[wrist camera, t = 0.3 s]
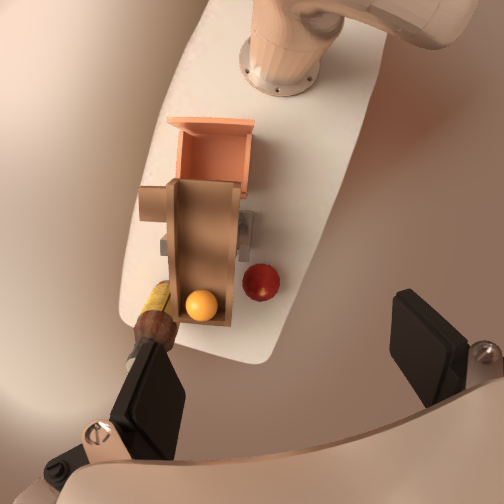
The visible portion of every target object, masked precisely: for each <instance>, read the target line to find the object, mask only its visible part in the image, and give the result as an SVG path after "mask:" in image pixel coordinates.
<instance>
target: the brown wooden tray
mask: <svg viewBox="0 0 504 504" xmlns="http://www.w3.org/2000/svg"><path fill="white" fill-rule="evenodd" d="M240 192H241V182H237V181H222V180H204V179H181V178H174V179H172V180H171V181H170V182H169V183H168V184H166V187H165V186H141V187H139V188H138V193H139V216H140V221H149V222H167V245H168V264H169V280H170V293H171V304H172V315H173V322H182V323H192V324H203V325H214V326H228V327H231V318H232V302H233V287H234V272H235V258H236V255H237V245H236V244H237V230H238V217H239V204H240ZM196 290H207V291H209V292H211V293H212V294H213V295H214V296H215V298H216V300H217V303H218V308H217V312H216V314H215V315H214V317H213V318H211V319H210V320H208V321H197V320H194V319H193V318H191V317H190V316H189V314H188V313H187V310H186V301H187V298H188V296H189V295H190V294H191V293H192V292H194V291H196Z"/></svg>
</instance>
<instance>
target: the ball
mask: <svg viewBox="0 0 504 504" xmlns="http://www.w3.org/2000/svg"><path fill="white" fill-rule="evenodd" d="M217 308H218V303H217V300H216V298H215V296H214V295H213V294H212V293H211V292H209V291H207V290H196V291H194V292H192V293H191V294H190V295H189V296H188V298H187V301H186V310H187V313H188V314H189V316H190V317H191V318H193V319H194V320H197V321H208V320H210V319H211V318H213V317H214V315H215V314H216V312H217Z"/></svg>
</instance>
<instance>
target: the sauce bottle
mask: <svg viewBox="0 0 504 504" xmlns="http://www.w3.org/2000/svg"><path fill="white" fill-rule="evenodd" d="M179 325H180V322H173V315H172V304H171V293H170V281H162V282H160V283H159V284H158V285H157V286H156V287H155V288H154V289H153V291H152V292H151V294H150V296H149V298H148V300H147V302H146V304H145V305H144V307H143V309H142V311H141V313H140V315H139V317H138V320H137V323H136V325H135V327H134V333H135V341H136V343H135V346H134V350H133V352H132V353H131V354H130V355H129V356H128V359H127V362H126V368H127V370H128V372H129V371H130V369H131V367H132V365H133V363H134V360H135V358H136V356H137V354H138V352H139V350H140V348H141V346H142V344H143V343H146V342H155V341H156V342H158V343H159V345H160V344H161V345H163V346H164V348H165V351H166V352H168V351H169V350H171V349H172V347H173V345H174V341H175V337H176V335H177V332H178V329H179Z"/></svg>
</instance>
